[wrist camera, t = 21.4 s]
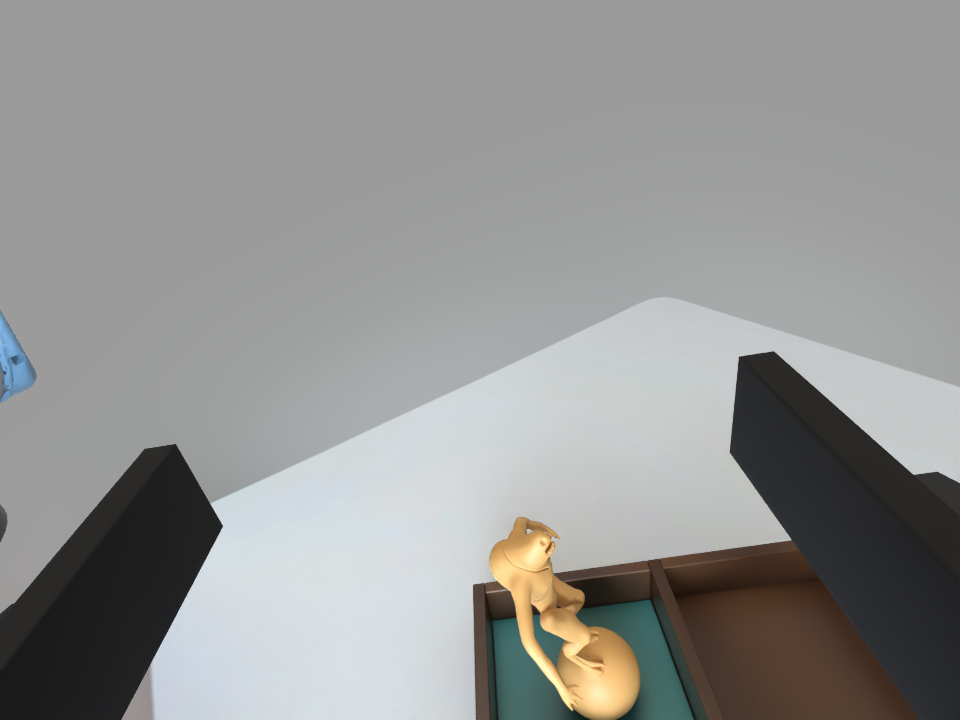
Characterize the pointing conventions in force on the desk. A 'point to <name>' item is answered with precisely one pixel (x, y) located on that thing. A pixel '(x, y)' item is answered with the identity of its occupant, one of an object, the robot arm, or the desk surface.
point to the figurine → (565, 627)
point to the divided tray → (697, 643)
